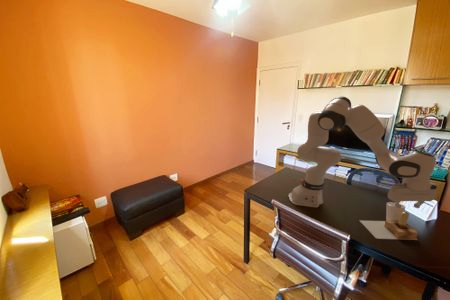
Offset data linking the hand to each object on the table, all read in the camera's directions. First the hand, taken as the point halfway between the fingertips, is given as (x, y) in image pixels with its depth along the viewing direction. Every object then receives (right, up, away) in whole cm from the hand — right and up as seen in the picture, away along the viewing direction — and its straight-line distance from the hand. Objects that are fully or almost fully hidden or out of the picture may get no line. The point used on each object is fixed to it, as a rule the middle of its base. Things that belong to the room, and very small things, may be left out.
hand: (406, 207), depth 97 cm
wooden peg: (-1, -14, +3) cm, 15 cm away
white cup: (+3, -12, +11) cm, 17 cm away
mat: (-6, -14, +5) cm, 16 cm away
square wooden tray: (-1, -14, +3) cm, 15 cm away
